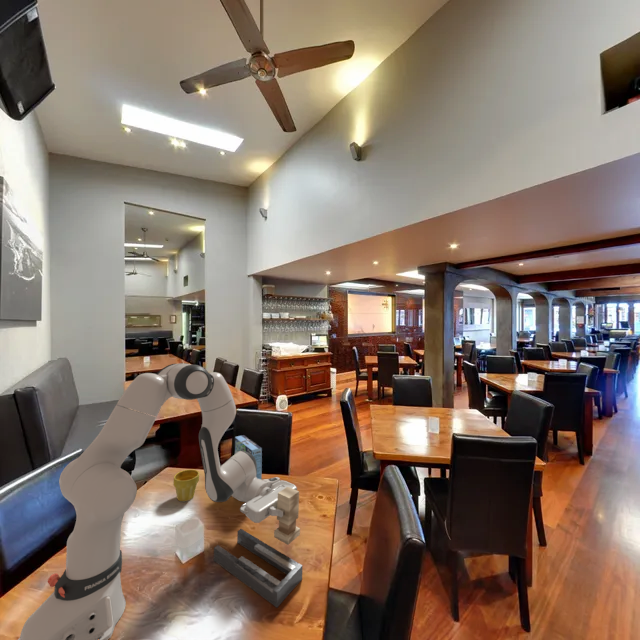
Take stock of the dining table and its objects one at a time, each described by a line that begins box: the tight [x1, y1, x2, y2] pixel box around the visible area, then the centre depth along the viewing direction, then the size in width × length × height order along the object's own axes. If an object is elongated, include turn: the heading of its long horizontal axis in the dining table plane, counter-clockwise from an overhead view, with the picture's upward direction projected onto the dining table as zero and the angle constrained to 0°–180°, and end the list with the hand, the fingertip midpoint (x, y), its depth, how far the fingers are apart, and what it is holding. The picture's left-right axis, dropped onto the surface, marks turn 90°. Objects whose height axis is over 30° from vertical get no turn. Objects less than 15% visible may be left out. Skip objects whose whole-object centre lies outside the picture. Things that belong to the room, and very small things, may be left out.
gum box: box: [234, 434, 263, 480], centre depth 133 cm, size 20×5×23 cm, turn 37°
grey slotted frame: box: [213, 528, 303, 608], centre depth 91 cm, size 11×28×4 cm, turn 56°
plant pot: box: [173, 468, 200, 502], centre depth 128 cm, size 10×10×10 cm
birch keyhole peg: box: [273, 487, 301, 546], centre depth 96 cm, size 6×6×14 cm
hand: (290, 509), depth 96 cm, fingers closed on birch keyhole peg, 5 cm apart
